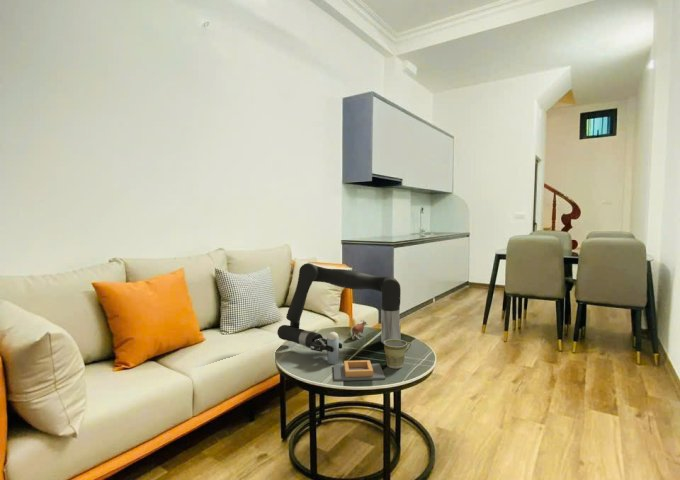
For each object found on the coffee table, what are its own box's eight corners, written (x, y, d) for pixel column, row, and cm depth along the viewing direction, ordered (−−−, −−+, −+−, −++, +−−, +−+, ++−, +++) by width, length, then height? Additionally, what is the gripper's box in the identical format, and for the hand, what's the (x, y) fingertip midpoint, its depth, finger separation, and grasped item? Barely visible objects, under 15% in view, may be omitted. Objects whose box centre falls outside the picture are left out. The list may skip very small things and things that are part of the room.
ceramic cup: (391, 371, 153) (391, 348, 153) (379, 363, 163) (379, 340, 162) (417, 366, 159) (417, 343, 158) (404, 358, 168) (404, 336, 167)
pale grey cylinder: (338, 359, 167) (338, 330, 166) (339, 364, 162) (338, 333, 161) (327, 360, 167) (327, 330, 166) (327, 364, 162) (327, 334, 161)
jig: (379, 365, 160) (379, 358, 160) (385, 379, 146) (385, 372, 146) (333, 366, 159) (333, 359, 159) (334, 380, 145) (334, 373, 145)
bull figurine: (368, 334, 203) (368, 319, 203) (356, 341, 192) (356, 325, 192) (361, 333, 206) (361, 318, 205) (349, 339, 194) (349, 324, 194)
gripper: (299, 335, 168) (325, 343, 157) (321, 328, 179) (348, 335, 167) (299, 351, 168) (326, 361, 157) (321, 343, 179) (348, 351, 168)
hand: (337, 347), depth 162 cm, fingers closed on pale grey cylinder, 5 cm apart
